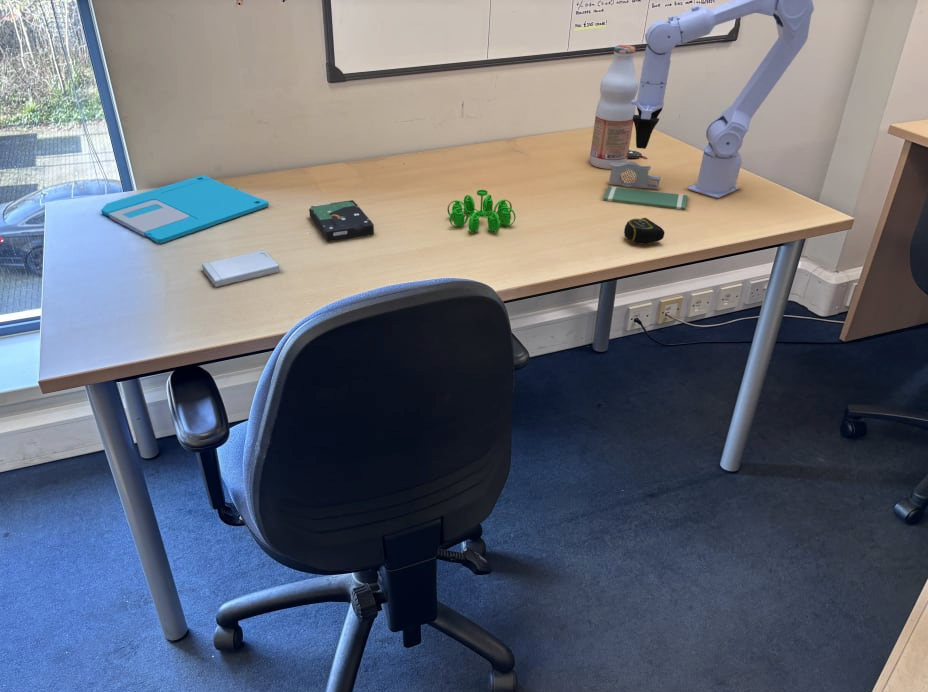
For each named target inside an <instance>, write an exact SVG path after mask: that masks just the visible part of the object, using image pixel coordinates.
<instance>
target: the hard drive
mask: <svg viewBox="0 0 928 692" xmlns="http://www.w3.org/2000/svg"><path fill="white" fill-rule="evenodd" d="M279 265H280V264H278V262H277V261H276V260H275V259H274V258H273V257H272V256H271V255H270V254H268V253H267V251H266V250H258V251H254V252H250V253H245V254H241V255H236V256H232V257H228V258H223V259H218V260H214V261H209V262H206V263H202V264H201V267H202V272H203V273H204V274H205V275H206V277H207V278H208V279H209V281H210V282H211V283H212V284H213V286H214V287H215V288H218V287H222V286H225V285H230V284H235V283H238V282H239V283H240V282H242V281H243V282H244V281H246V280H251V279H256V278H259V277H263V276H267V275H271V274H276V273H279V272H281V271H280V270H281V269H280V266H279Z"/></svg>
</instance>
